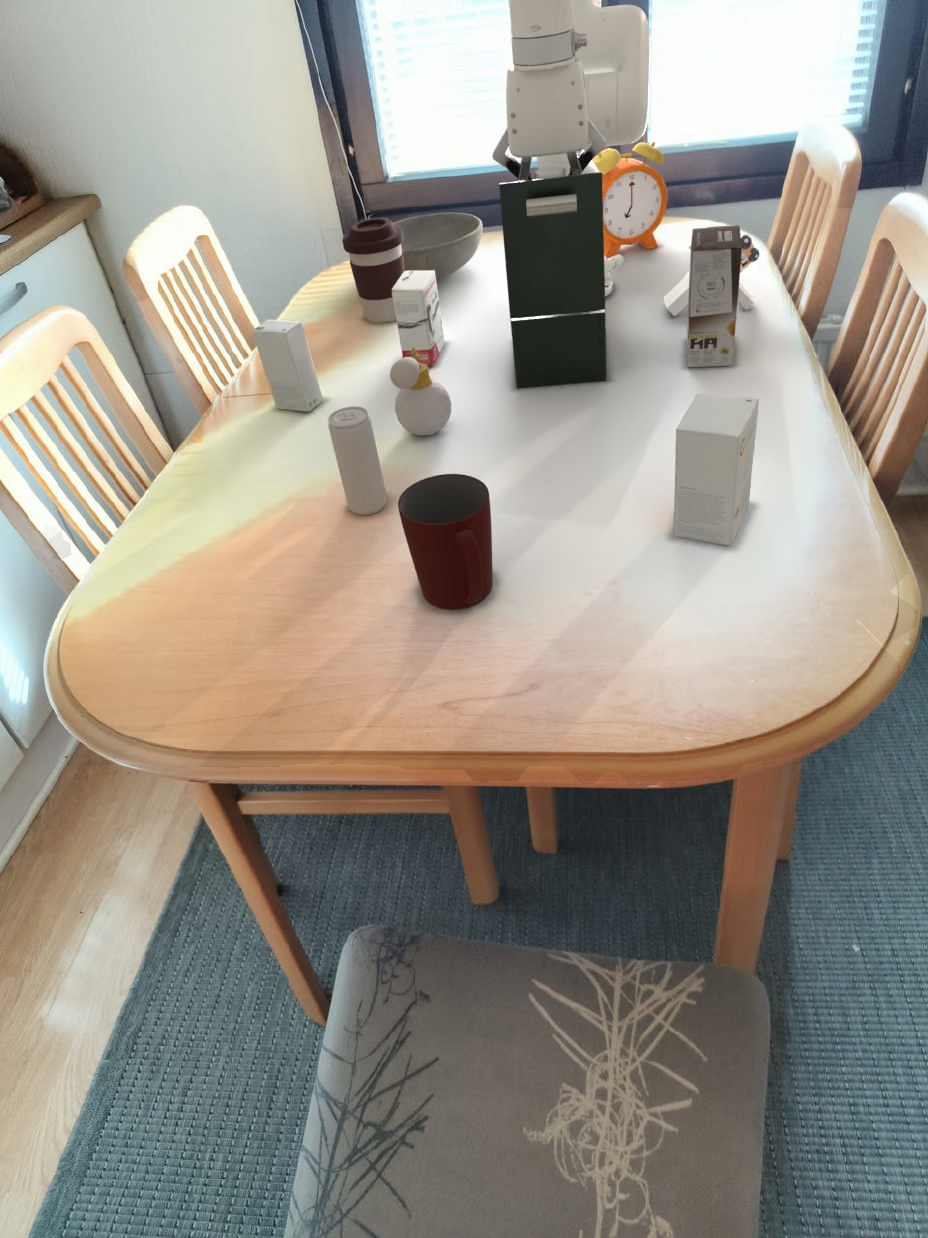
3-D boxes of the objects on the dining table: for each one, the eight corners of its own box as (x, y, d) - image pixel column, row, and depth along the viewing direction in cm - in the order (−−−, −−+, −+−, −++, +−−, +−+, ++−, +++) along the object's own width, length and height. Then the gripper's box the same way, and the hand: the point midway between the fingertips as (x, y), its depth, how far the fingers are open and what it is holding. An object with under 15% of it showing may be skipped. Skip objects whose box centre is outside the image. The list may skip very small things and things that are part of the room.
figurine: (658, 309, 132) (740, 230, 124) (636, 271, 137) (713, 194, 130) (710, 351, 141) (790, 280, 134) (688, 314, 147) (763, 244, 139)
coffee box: (733, 366, 122) (743, 247, 112) (686, 368, 124) (691, 250, 113) (731, 338, 129) (740, 223, 119) (685, 340, 130) (691, 226, 120)
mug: (525, 615, 88) (516, 523, 81) (442, 644, 86) (425, 552, 79) (481, 552, 97) (469, 464, 90) (404, 577, 95) (386, 490, 88)
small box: (692, 496, 100) (698, 390, 91) (750, 505, 97) (761, 396, 89) (671, 537, 95) (674, 428, 86) (730, 547, 92) (740, 436, 84)
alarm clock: (598, 260, 160) (595, 137, 147) (587, 250, 164) (583, 130, 151) (667, 245, 161) (671, 123, 148) (654, 236, 166) (656, 116, 153)
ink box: (434, 367, 134) (422, 289, 126) (403, 368, 135) (389, 291, 127) (446, 342, 140) (435, 267, 133) (416, 343, 141) (404, 269, 134)
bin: (518, 342, 137) (512, 278, 131) (600, 334, 136) (599, 270, 129) (516, 388, 125) (510, 321, 119) (606, 380, 124) (605, 312, 117)
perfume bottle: (450, 412, 122) (438, 328, 114) (460, 446, 115) (448, 359, 107) (397, 422, 122) (381, 338, 114) (403, 456, 115) (386, 370, 107)
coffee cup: (348, 325, 150) (329, 234, 141) (374, 302, 157) (357, 214, 148) (400, 328, 147) (384, 234, 137) (424, 304, 154) (410, 213, 144)
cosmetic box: (324, 399, 130) (305, 319, 122) (307, 414, 127) (286, 333, 119) (290, 395, 132) (269, 316, 125) (273, 409, 130) (250, 329, 122)
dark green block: (499, 183, 110) (497, 190, 106) (601, 171, 108) (604, 178, 104) (510, 316, 119) (509, 328, 115) (605, 307, 117) (607, 319, 113)
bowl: (445, 301, 154) (439, 254, 148) (351, 290, 163) (342, 245, 158) (506, 258, 166) (502, 213, 161) (415, 250, 176) (409, 207, 171)
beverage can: (348, 498, 108) (327, 409, 101) (387, 492, 108) (369, 402, 101) (348, 519, 105) (325, 429, 97) (388, 513, 105) (369, 422, 97)
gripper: (612, 35, 109) (614, 194, 120) (475, 54, 111) (490, 207, 123) (616, 46, 103) (618, 210, 115) (472, 64, 105) (487, 224, 117)
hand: (551, 207), depth 119 cm, fingers closed on supplement bottle, 4 cm apart
